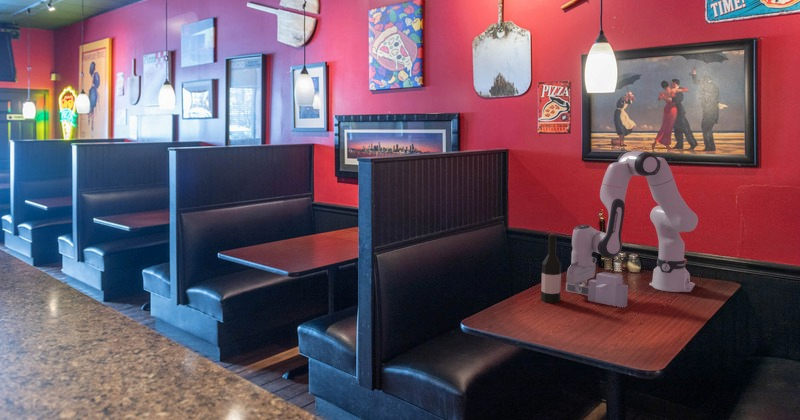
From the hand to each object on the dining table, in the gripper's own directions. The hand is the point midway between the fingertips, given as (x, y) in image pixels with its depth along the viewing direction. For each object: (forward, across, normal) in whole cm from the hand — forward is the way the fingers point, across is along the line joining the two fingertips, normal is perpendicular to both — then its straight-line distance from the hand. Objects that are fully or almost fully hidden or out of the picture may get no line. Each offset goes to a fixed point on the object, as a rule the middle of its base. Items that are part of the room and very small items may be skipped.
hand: (580, 290), depth 279 cm
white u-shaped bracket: (+2, +4, 0) cm, 5 cm away
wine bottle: (+2, -19, +4) cm, 20 cm away
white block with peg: (+2, -9, -16) cm, 18 cm away
